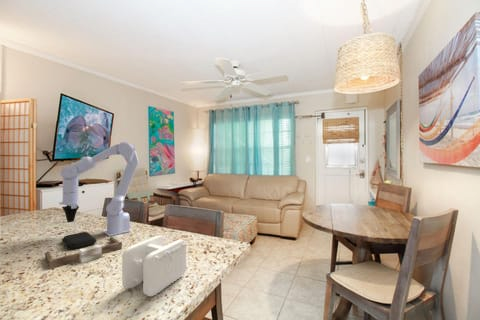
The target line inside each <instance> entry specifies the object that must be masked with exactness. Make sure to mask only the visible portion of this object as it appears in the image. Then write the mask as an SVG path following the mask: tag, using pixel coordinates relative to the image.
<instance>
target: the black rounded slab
mask: <svg viewBox="0 0 480 320" xmlns="http://www.w3.org/2000/svg"><path fill="white" fill-rule="evenodd" d="M61 241H62V244H63V248H66V249H70V250H72V251H73V250H78V249H79V250H80V249H83V248H87V247H91V246H95V244H96V243H97V239H96V238H95V237H94V236H92V234H90V233H89V232H87V231H82V232H78V233H73V234H67V235H64V237H63V238H62V239H61Z"/></svg>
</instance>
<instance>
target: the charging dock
mask: <svg viewBox="0 0 480 320" xmlns="http://www.w3.org/2000/svg"><path fill="white" fill-rule="evenodd" d="M109 243H110V244H107V245H103V246H102V245H100V244H96V245H95V244H94V245H91V246H87V247H83V248H79V252H76V253H71V254H68V255H64V256H60V257H56V258H53V257H52V255H51V253H50V251H46V252H44V256H45V257H44V258H45V261H46V263H47V265H48V268H49V269H50V270H51V269H54V268H58V267H61V266H65V265H69V264H72V263H76V262H80V263H81V264H86V263H88V262H91V261H94V260H98V259H101V258H102V255H105V254H107V253H111V252H115V251H119V250H122V249H123V243H122V241H119V240H117V239H116V238H115V237H114V236H109Z"/></svg>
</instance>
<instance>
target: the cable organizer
mask: <svg viewBox="0 0 480 320" xmlns="http://www.w3.org/2000/svg"><path fill="white" fill-rule="evenodd" d="M165 240H166V239H165V237H164V236H162V235H156V236H153V237H151V238H148V239H146V240H143V241H141V242H138V243H136V244H134V245H130V246H129V247H127V248H126V249H124V251H123V253H122V256H121V261H122V262H121V263H122V266H121V267H122V269H121V273H122V275H121V277H122V278H121V281H122V282H121V283H122V286H123V287H124V288H127V289H134V288H135V287H138V286H140V284H141V283H142V282H143V283H142V285H143V286H142V287H143V289H142V290H143V291H142V293H143V294H144V295H145V296H148V297H154V295H155V296H157V295H158V294H159V293H161V292H162V291H163V290H164V289H166V288H167V287H168V286H169V285H171V283H172V284H174V281H175V282H176V281H178V280H179V279H180V278H181V277H182V276H183V275H184V274H185V273H186V271H187V242H186V240H182V239H178V240H175V241H172V242H170V243H168V244H165V243H166V242H165ZM177 279H178V280H177ZM157 293H158V294H157Z"/></svg>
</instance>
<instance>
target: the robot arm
mask: <svg viewBox="0 0 480 320" xmlns="http://www.w3.org/2000/svg"><path fill="white" fill-rule="evenodd" d="M113 155H114V156H115V155H121V156H122V157H123V158H124V160H125V162H126V165H125V167H124V171H123V173H122V174H121V177H120V181H119V182H118V185H117V188H116V190H115V193H114V195H113V197H112V199H111V200H110V202H109V203H108V204H107V206H106V208H105V211H106V230H104V231H103V233H104V234H105V235H106V236H109V237H113V236H115V235H117V236H118V235H121V234H125V233H129V232H131V225H130V223H131V221H130V220H131V217H130V214H129V213H128V212H127V211H126V212H124V210H123V208H125V200H126V199H125V198H126V195H127V193H128V190H129V188H130V186H131V182H132V180H133V178H134V175H135V173H136V170H137V167H138V165H139V162H140V161H139V158H138V154H137V149H136V148H135V146H134V145H133V144H132V143H129V142H127V141H122V142H120V143H117V144H114V145H112V146H110V147H108V148H106V149H104V150H102V151H101V152H99V153H97V154H95V155H93V156H82V157H81V158H80V159H79V160H77V161H76V162H71V163H70V165H65V166H64V167H62V168H61V170H60V176H61V177H62V201H61V202H60V201H59V202H58V204H59V205H61V209H63V211H64V214H65V218H66V222H67V223H72V222H74V221H75V218H76V214H77V212H78V210H79V208H80V206H79V204H80V201H79V176H80V175H82V174H83V173H87V172H88V171H90V170H92V169H94V168H96V165H97V163H99V162H101V161H103V160H105V159H108V158H110V157H111V156H113ZM62 205H63V206H62Z"/></svg>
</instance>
